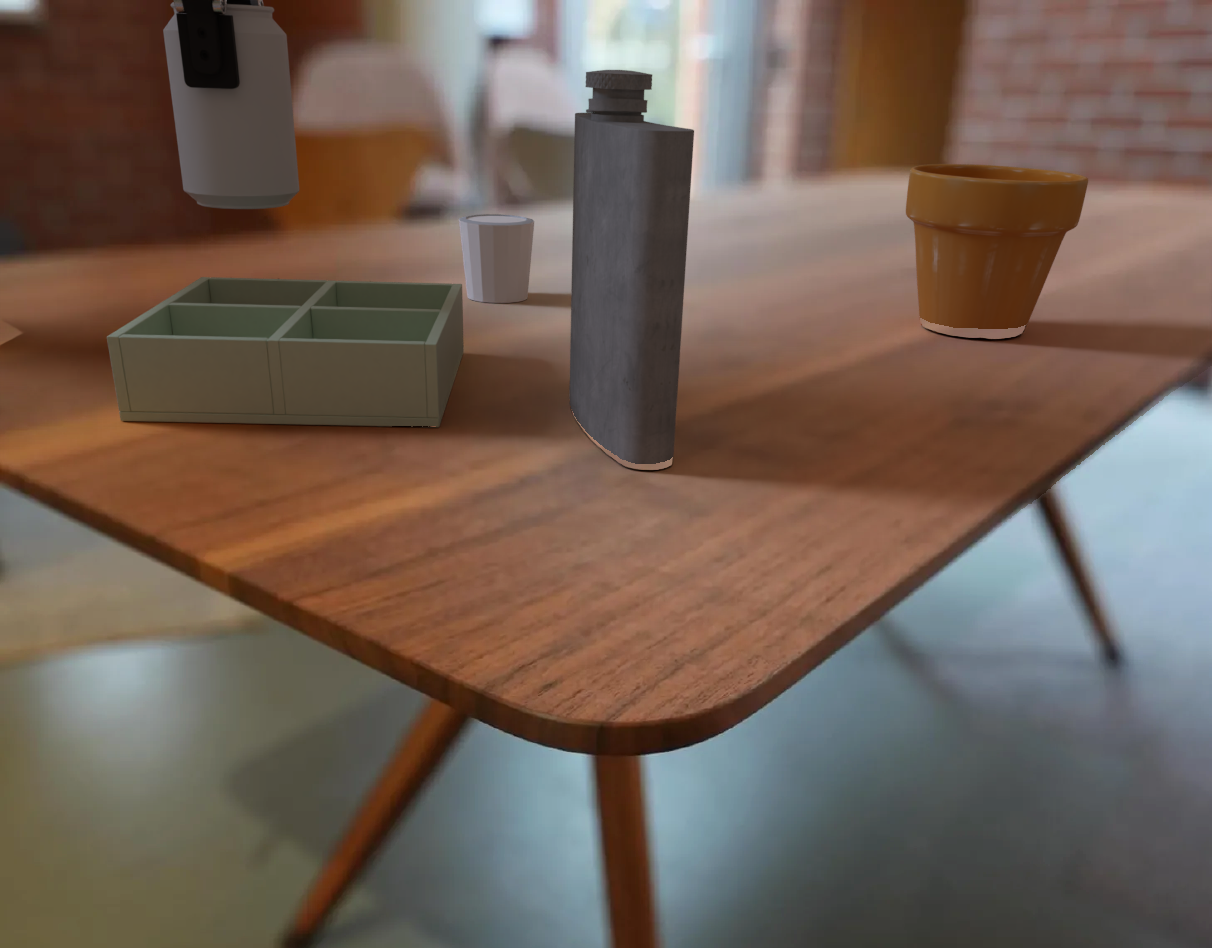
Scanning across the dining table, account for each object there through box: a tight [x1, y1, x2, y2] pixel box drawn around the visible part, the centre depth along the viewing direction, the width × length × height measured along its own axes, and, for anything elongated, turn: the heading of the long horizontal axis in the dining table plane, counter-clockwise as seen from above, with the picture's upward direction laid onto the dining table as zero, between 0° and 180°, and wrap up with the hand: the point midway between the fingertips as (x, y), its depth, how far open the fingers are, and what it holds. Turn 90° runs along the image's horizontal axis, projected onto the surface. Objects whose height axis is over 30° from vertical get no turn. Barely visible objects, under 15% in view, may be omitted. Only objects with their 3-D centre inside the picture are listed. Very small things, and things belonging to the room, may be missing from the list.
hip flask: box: [568, 69, 695, 464], centre depth 64 cm, size 16×4×20 cm, turn 14°
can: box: [162, 2, 300, 210], centre depth 73 cm, size 8×8×12 cm
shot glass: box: [458, 213, 535, 304], centre depth 103 cm, size 7×7×7 cm
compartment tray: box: [106, 276, 465, 428], centre depth 75 cm, size 19×19×5 cm
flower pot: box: [905, 163, 1089, 329], centre depth 95 cm, size 14×14×13 cm
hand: (230, 84), depth 72 cm, fingers closed on can, 7 cm apart
